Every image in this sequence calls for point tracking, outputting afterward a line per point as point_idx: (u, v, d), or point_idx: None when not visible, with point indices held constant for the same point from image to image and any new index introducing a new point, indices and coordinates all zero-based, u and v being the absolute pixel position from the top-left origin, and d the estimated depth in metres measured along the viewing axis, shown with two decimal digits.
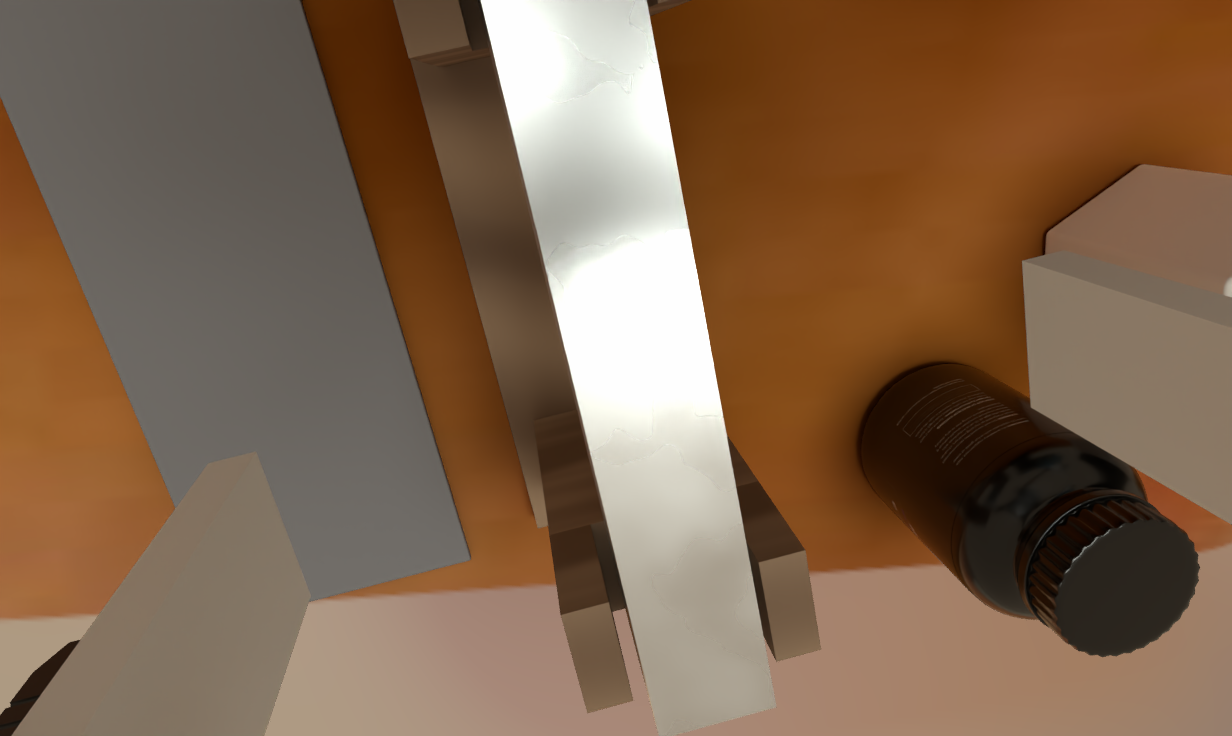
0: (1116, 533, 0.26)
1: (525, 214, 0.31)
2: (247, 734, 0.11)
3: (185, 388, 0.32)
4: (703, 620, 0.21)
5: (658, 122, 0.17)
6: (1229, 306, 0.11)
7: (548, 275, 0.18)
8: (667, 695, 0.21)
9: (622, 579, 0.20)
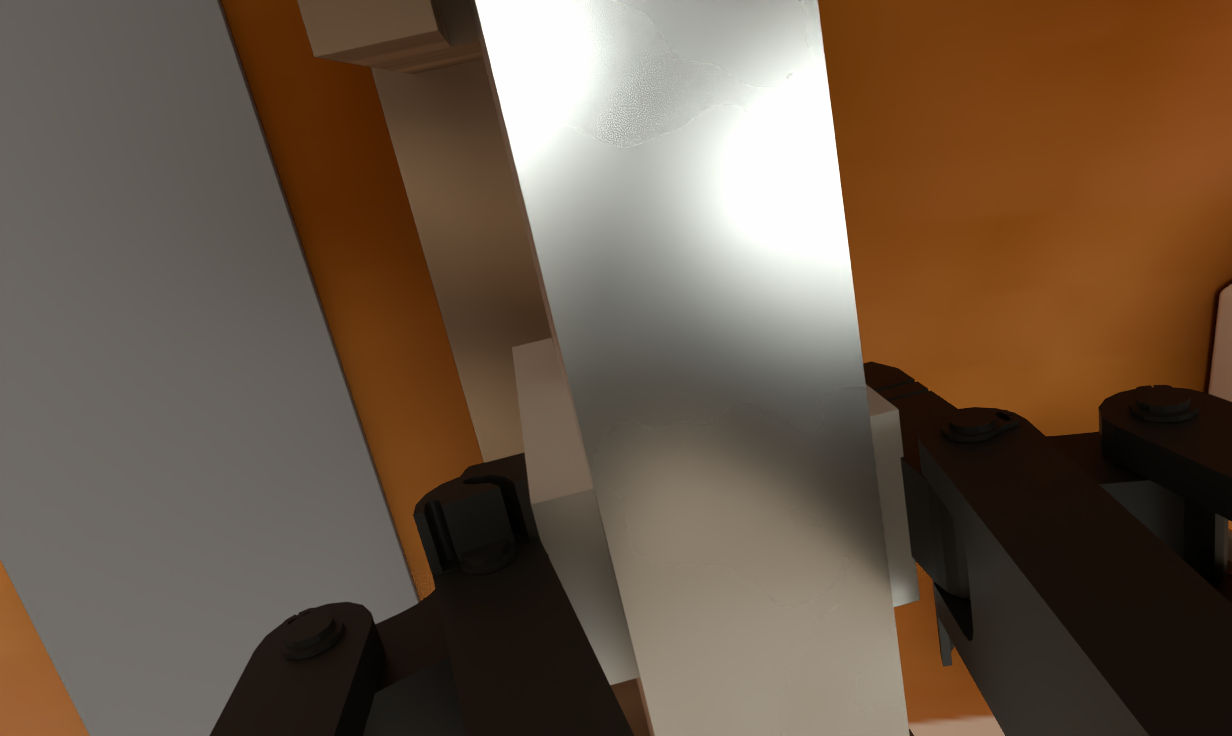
0: None
1: (532, 277, 0.23)
2: None
3: (64, 516, 0.23)
4: None
5: (819, 185, 0.09)
6: None
7: (594, 480, 0.09)
8: None
9: None
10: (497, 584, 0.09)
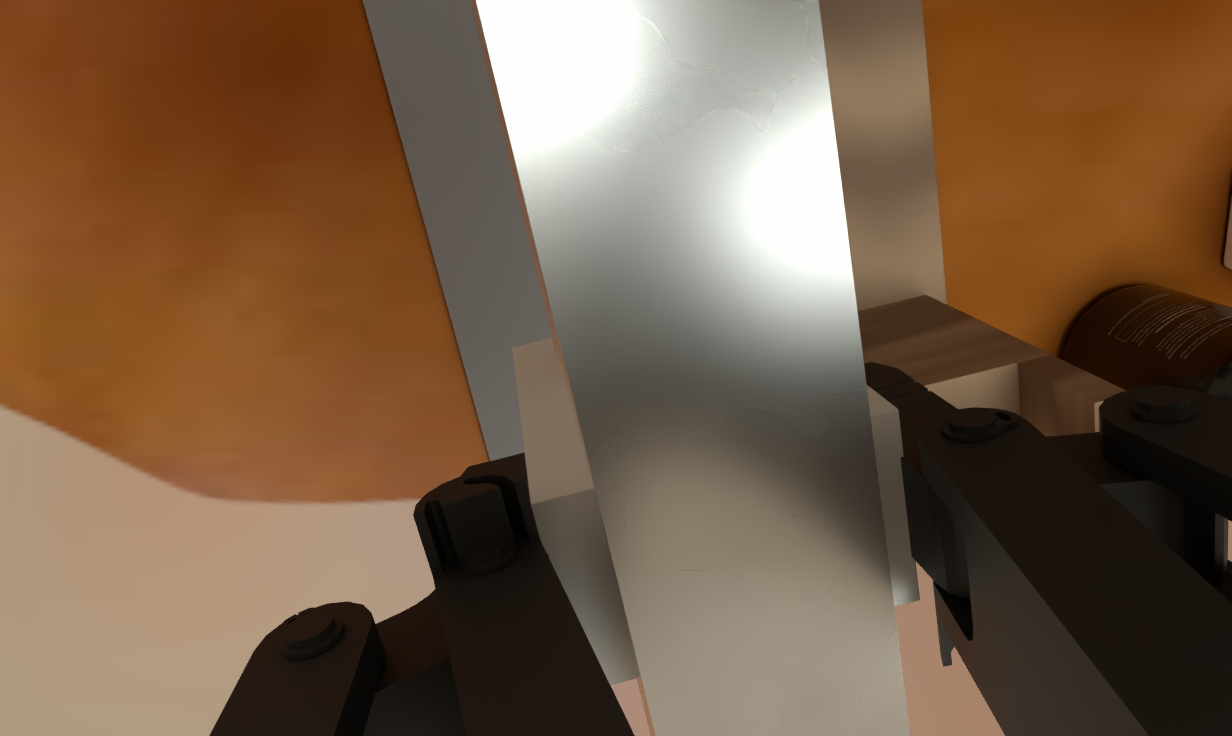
0: None
1: None
2: None
3: (494, 294, 0.37)
4: None
5: (821, 189, 0.09)
6: None
7: (596, 484, 0.09)
8: None
9: None
10: (497, 584, 0.09)
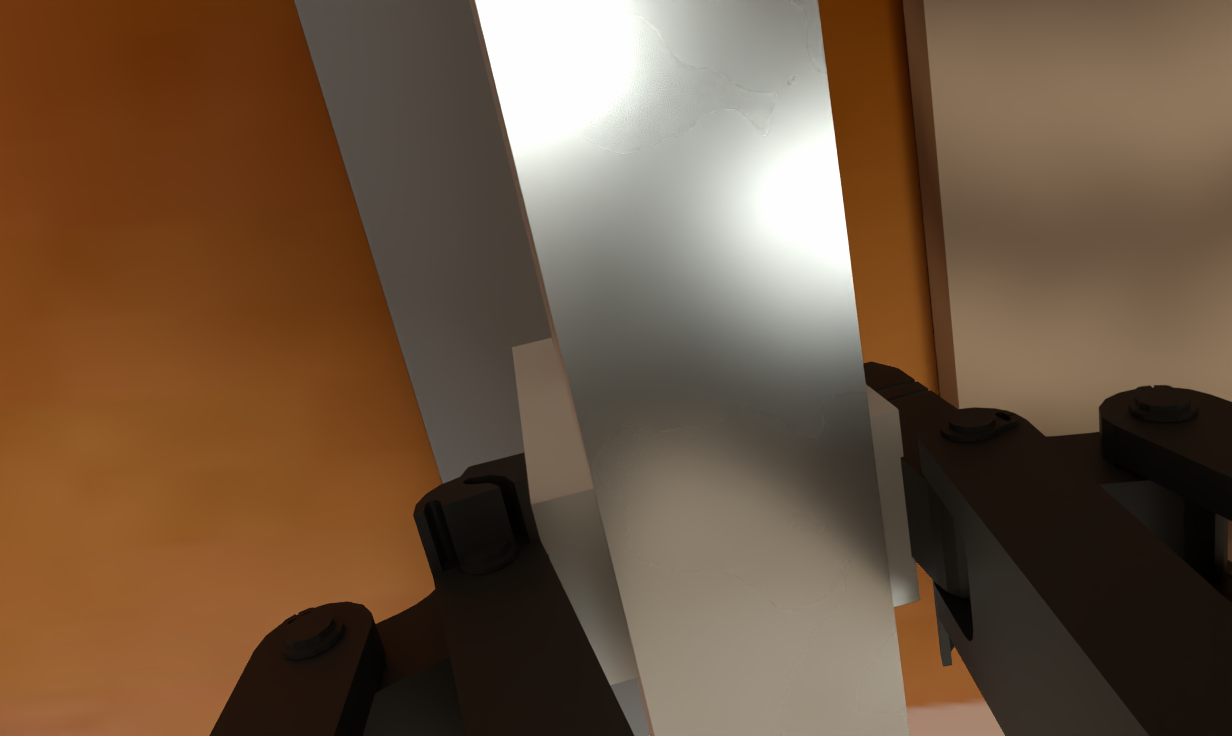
0: None
1: (1040, 178, 0.21)
2: None
3: (514, 439, 0.22)
4: None
5: (820, 190, 0.09)
6: None
7: (595, 485, 0.09)
8: None
9: None
10: (497, 584, 0.09)
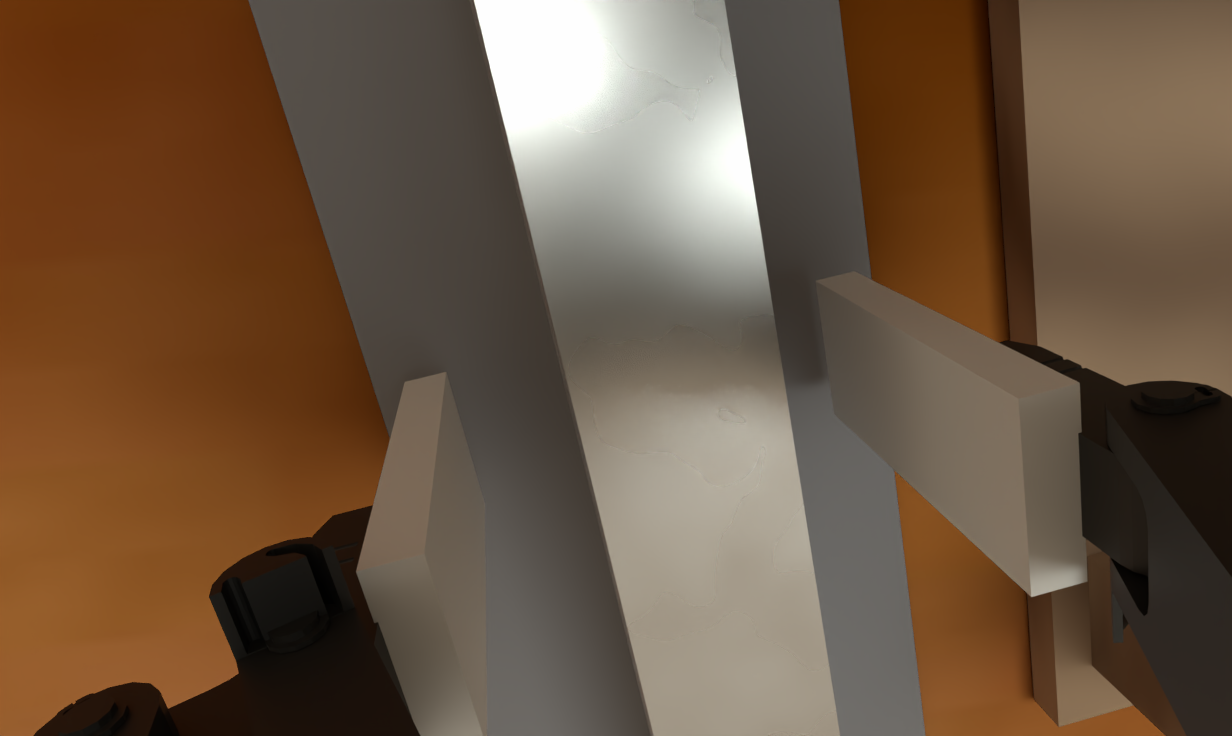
0: None
1: (1150, 201, 0.17)
2: (479, 597, 0.13)
3: (516, 512, 0.18)
4: None
5: (734, 161, 0.12)
6: (943, 326, 0.13)
7: (569, 383, 0.12)
8: None
9: None
10: (308, 661, 0.08)
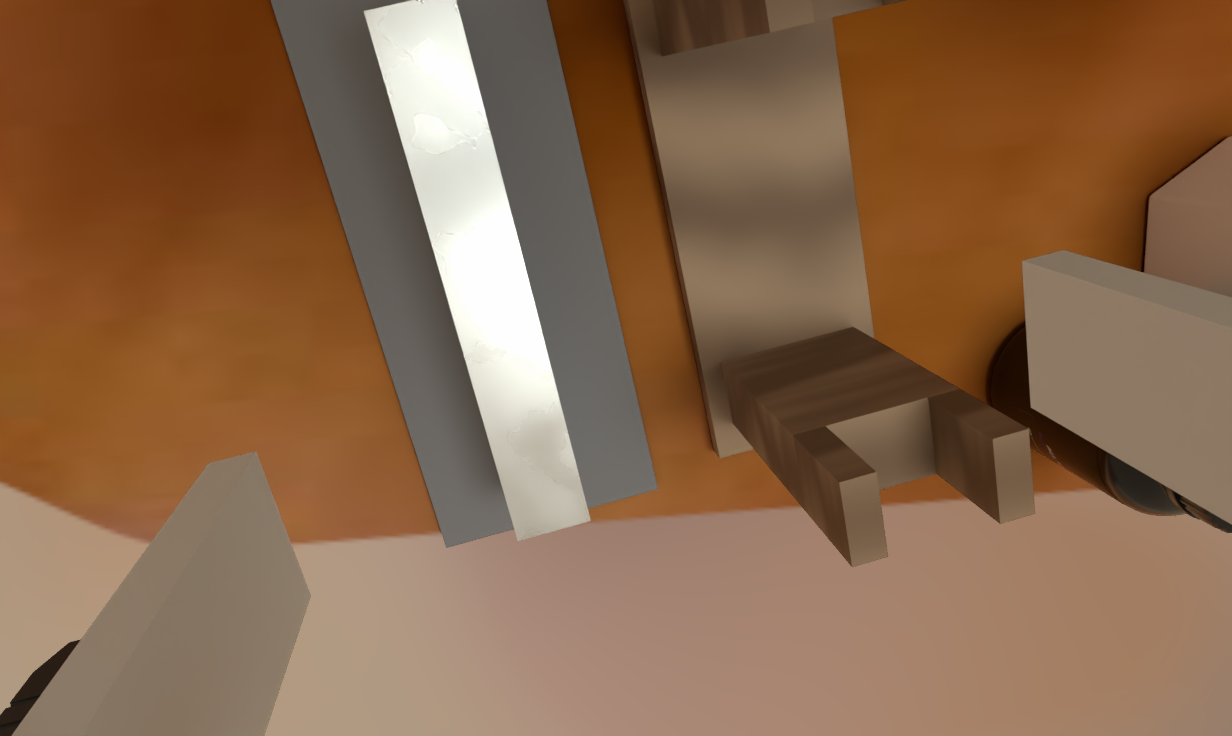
0: None
1: (724, 181, 0.37)
2: (246, 734, 0.11)
3: (428, 336, 0.37)
4: (540, 461, 0.34)
5: (492, 163, 0.31)
6: (1230, 306, 0.11)
7: (434, 250, 0.31)
8: (520, 511, 0.35)
9: (488, 435, 0.34)
10: None
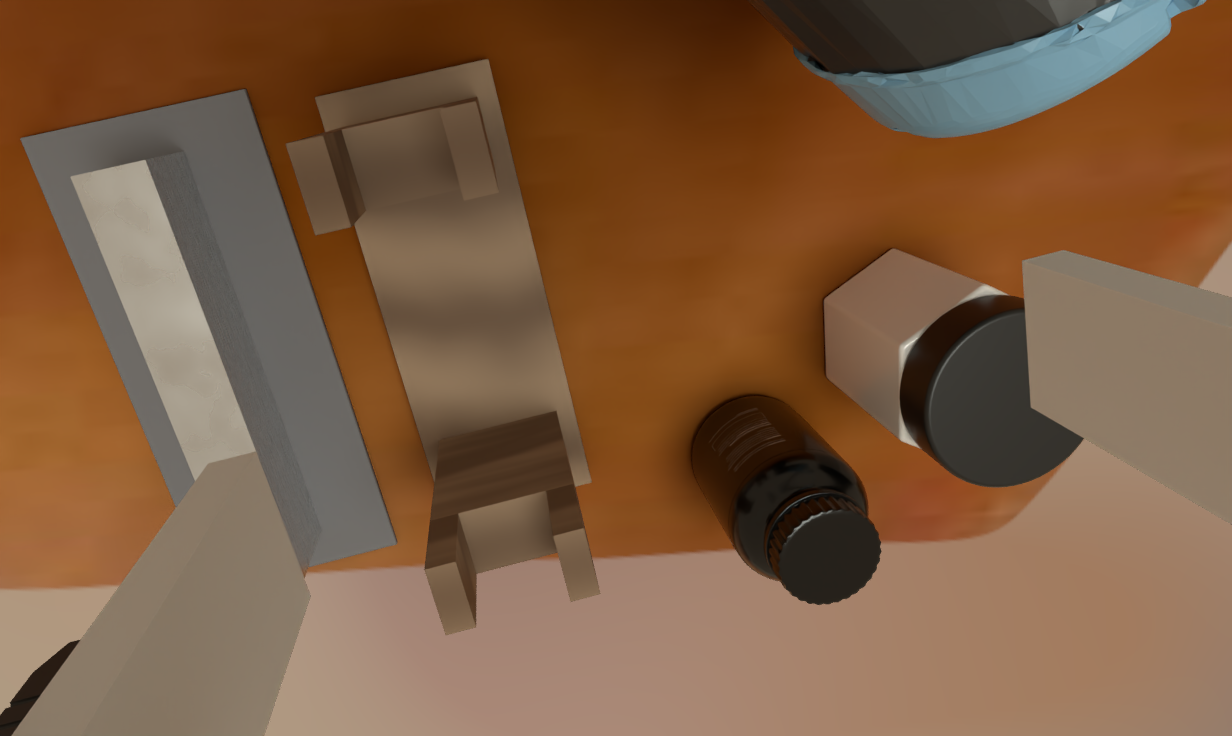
0: (816, 518, 0.38)
1: (428, 291, 0.43)
2: (246, 734, 0.11)
3: None
4: None
5: (191, 293, 0.38)
6: (1230, 306, 0.11)
7: (147, 362, 0.38)
8: None
9: None
10: None
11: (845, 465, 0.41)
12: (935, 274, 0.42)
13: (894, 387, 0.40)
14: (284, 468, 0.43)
